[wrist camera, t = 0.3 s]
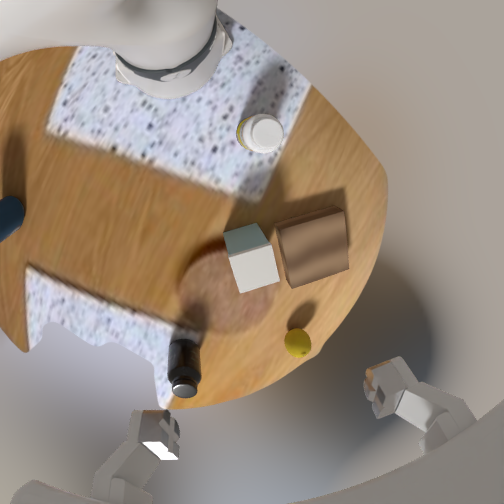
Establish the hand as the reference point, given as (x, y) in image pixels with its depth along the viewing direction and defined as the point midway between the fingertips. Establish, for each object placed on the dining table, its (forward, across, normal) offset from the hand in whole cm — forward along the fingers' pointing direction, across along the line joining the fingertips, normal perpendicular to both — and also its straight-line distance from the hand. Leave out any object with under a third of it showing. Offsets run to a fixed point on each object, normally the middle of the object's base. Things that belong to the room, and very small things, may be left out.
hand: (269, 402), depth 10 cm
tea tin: (+39, -1, +10) cm, 40 cm away
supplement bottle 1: (+38, +17, +31) cm, 52 cm away
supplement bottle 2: (+39, -5, -8) cm, 40 cm away
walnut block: (+40, -13, +13) cm, 44 cm away
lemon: (+40, -7, +34) cm, 52 cm away
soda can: (+36, +42, -8) cm, 55 cm away
